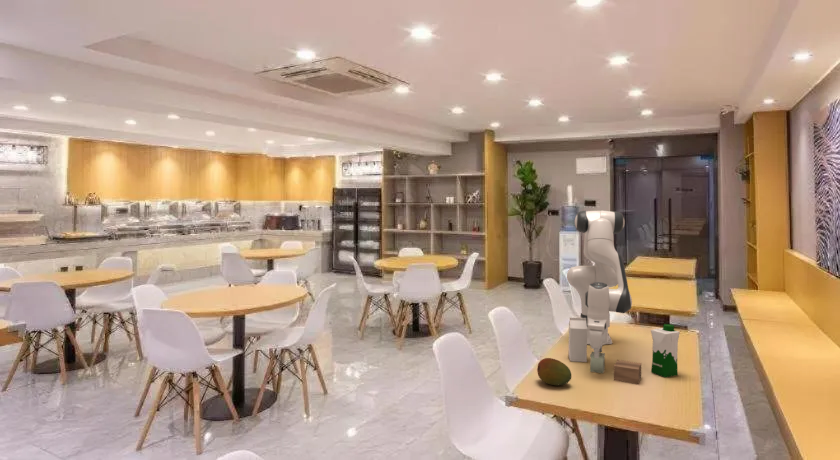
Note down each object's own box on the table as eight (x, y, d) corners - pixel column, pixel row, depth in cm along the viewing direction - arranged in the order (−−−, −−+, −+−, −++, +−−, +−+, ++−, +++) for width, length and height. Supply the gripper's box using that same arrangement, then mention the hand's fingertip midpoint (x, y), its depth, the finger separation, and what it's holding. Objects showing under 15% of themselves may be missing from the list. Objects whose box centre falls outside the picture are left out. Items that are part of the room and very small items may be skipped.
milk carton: (586, 362, 215) (587, 319, 214) (570, 361, 216) (570, 319, 216) (584, 357, 222) (585, 316, 221) (568, 356, 223) (568, 315, 222)
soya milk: (681, 375, 197) (682, 327, 197) (665, 378, 194) (666, 329, 193) (662, 369, 205) (663, 322, 205) (647, 372, 202) (648, 324, 201)
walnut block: (617, 374, 200) (617, 359, 200) (641, 377, 196) (641, 363, 195) (613, 380, 192) (613, 365, 192) (638, 384, 188) (638, 369, 188)
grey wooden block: (591, 368, 207) (591, 351, 207) (604, 369, 205) (604, 353, 205) (590, 371, 203) (590, 354, 202) (603, 373, 200) (603, 356, 200)
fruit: (534, 378, 194) (534, 354, 194) (566, 379, 194) (566, 354, 194) (541, 389, 183) (541, 363, 182) (574, 389, 182) (575, 363, 182)
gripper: (593, 316, 213) (593, 347, 214) (587, 325, 195) (586, 359, 195) (609, 318, 211) (608, 349, 211) (603, 327, 192) (603, 362, 193)
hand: (598, 354), depth 203 cm, fingers open, 8 cm apart
